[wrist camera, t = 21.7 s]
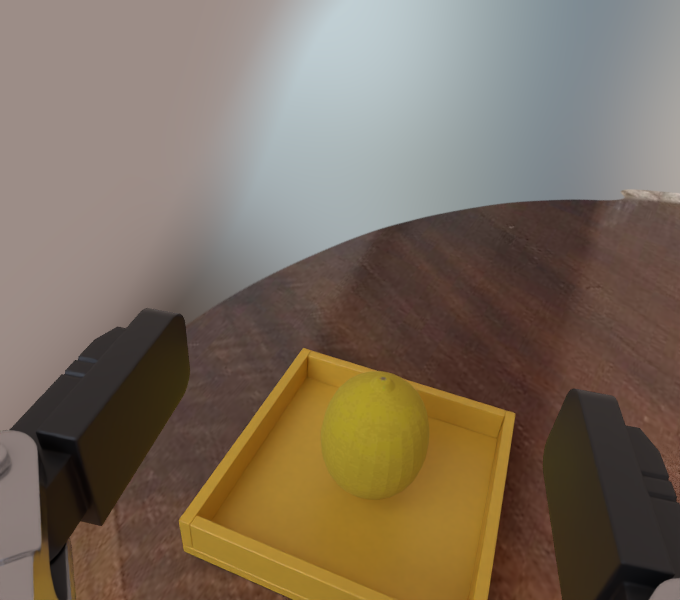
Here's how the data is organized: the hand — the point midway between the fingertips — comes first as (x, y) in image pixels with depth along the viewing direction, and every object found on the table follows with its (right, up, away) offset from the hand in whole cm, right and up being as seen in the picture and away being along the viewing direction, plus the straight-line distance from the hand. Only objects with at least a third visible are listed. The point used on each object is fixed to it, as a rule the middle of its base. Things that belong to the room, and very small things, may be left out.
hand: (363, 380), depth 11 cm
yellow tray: (+1, -9, +19) cm, 21 cm away
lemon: (+1, -9, +19) cm, 21 cm away
